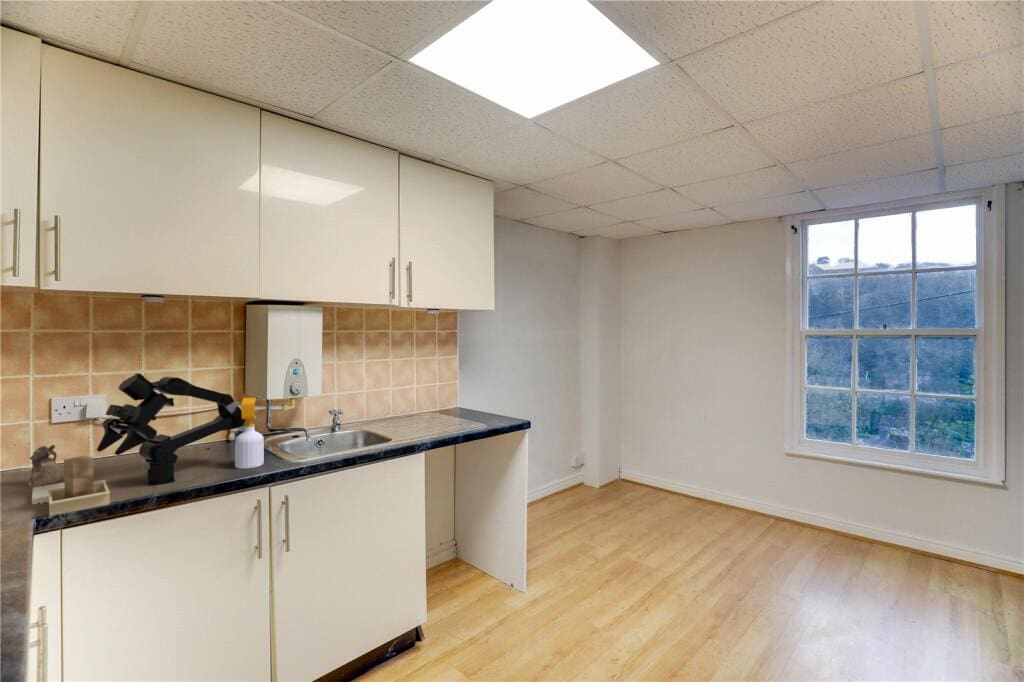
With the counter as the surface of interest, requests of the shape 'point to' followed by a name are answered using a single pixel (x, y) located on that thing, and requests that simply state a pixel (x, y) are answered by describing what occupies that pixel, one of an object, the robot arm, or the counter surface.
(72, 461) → the walnut box
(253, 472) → the counter surface
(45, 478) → the figurine
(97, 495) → the light wooden tray
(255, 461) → the soap bottle
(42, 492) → the tile
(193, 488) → the counter surface
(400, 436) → the counter surface
